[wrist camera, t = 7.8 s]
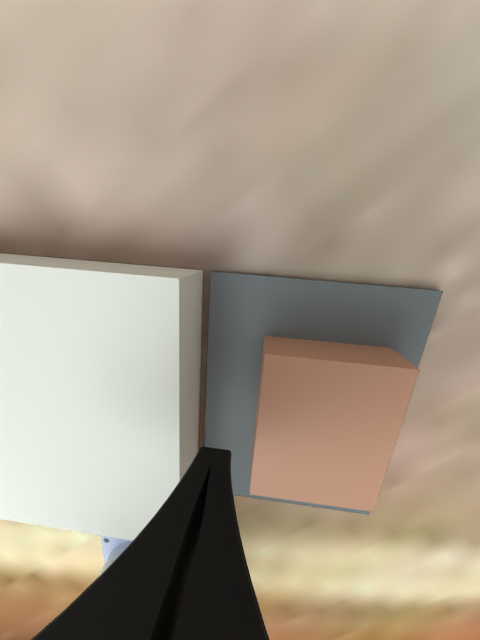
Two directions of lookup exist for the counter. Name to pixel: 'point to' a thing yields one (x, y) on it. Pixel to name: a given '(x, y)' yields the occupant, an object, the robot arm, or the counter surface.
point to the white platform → (96, 390)
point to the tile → (327, 420)
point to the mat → (299, 323)
